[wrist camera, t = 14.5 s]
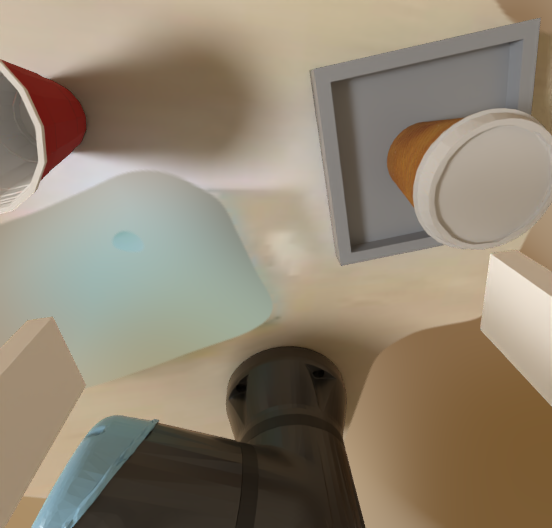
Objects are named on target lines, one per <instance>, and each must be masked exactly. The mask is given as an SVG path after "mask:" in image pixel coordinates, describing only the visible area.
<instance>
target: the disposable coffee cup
mask: <svg viewBox="0 0 552 528" xmlns="http://www.w3.org/2000/svg"><path fill="white" fill-rule="evenodd" d="M387 168H388V172H389V175H390V177H391V178H392V180H393V181H394V182H395V184H396V185H397V186H398V188H399V189H400V190H401V191H402V193H403V194H404V195H405V197H406V198H407V199H408V201H409V202H410V203H411V205H412V206H413V207H414V209H415V213H416V216H417V218H418V221H419V223H420V224H421V226H422V227H423V229H424V230H425V231H426V233H427V234H428V235H430V236H431V237H432V238H434V239H435V240H436V241H437V242H439V243H442V244H444V245H446V246H449V247H454V248H460V249H488V248H493V247H497V246H500V245H504V244H506V243H508V242H510V241H512V240H514V239H516V238H518V237H519V236H521V235H522V234H524V233H525V232H527V231H528V230H529V229H530V228H531V227H532V226H533V225H535V224H536V223H537V221H538V220H539V219H540V218H541V217H542V216H543V215H544V213H545V212H546V210H547V209H548V207H549V206H550V204H551V203H552V136H551V134H550V133H549V132H548V131H547V130H546V129H545V127H544V126H543V125H542V124H541V123H540V122H539V121H538V120H537V119H535V118H534V117H532V116H531V115H529V114H527V113H525V112H522V111H519V110H516V109H507V108H498V109H490V110H484V111H480V112H478V113H475V114H472V115H469V116H467V117H465V118H457V119H447V120H438V121H429V122H419V123H416V124H413V125H411V126H409V127H407V128H406V129H404V130H403V131H402V132H401V133H399V134H398V136H397V137H396V138H395V139H394V141H393V143H392V144H391V146H390V149H389V152H388V156H387Z"/></svg>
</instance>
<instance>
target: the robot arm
mask: <svg viewBox="0 0 552 528" xmlns="http://www.w3.org/2000/svg"><path fill="white" fill-rule="evenodd" d="M480 330H481V331H482V332H483V333H484V334H485V335H486V336H487V337H488V338H489V339H490V341H491V342H492V343H494V345H495V346H496V347H497V348H498V349H499V350H500V351H501V352H502V353H503V354H504V356H505V357H506V358H507V359H508V360H509V361H510V362H511V363H512V364H513V365H514V366H515V367H516V369H517V370H518V371H519V372H520V373H521V374H522V375H523V376H524V377H525V378H526V379H527V380H528V382H530V384H532V386H533V387H534V388H535V389H536V390H537V391H538V392H539V393H540V394H541V395H542V397H543V398H544V399H545V400H546V401H547V402H548V403H549V404H550V405H551V406H552V272H551V271H550V270H548V269H547V268H545V267H543V266H542V265H540V264H539V263H537V262H535V261H534V260H532V259H530V258H529V257H527V256H526V255H524V254H523V253H521V252H519V251H518V250H510V251H503V252H497V253H490V260H489V267H488V275H487V282H486V290H485V298H484V305H483V313H482V320H481V328H480ZM85 386H86V384H85V382H84V380H83V378H82V376H81V374H80V372H79V370H78V368H77V366H76V364H75V362H74V359H73V357H72V355H71V353H70V351H69V349H68V347H67V345H66V343H65V341H64V339H63V337H62V335H61V333H60V331H59V329H58V326H57V324H56V322H55V320H54V318H53V317H47V318H40V319H33V320H28V321H26V323H25V324H24V325H23V326H22V327H21V328H20V329H19V330H18V331H17V332H16V333H15V334H14V335H13V336H12V337H11V338H10V339H9V340H8V341H7V342H6V343H5V344H4V345H3V346H2V347H1V348H0V528H5V526H6V525H7V523H8V521H9V519H10V517H11V516H12V514H13V512H14V511H15V509H16V507H17V505H18V503H19V502H20V500H21V498H22V497H23V495H24V493H25V491H26V490H27V488H28V486H29V484H30V483H31V481H32V479H33V477H34V476H35V474H36V472H37V470H38V469H39V467H40V465H41V463H42V462H43V460H44V458H45V456H46V455H47V453H48V451H49V449H50V448H51V446H52V444H53V442H54V441H55V439H56V437H57V435H58V434H59V432H60V430H61V428H62V427H63V425H64V423H65V421H66V420H67V418H68V416H69V414H70V413H71V411H72V409H73V407H74V406H75V404H76V402H77V400H78V399H79V397H80V395H81V393H82V392H83V390H84V388H85ZM346 404H347V397H346V390H345V387H344V383H343V380H342V377H341V374H340V372H339V370H338V369H337V368H336V366H335V365H334V364H333V363H332V362H331V361H330V360H329V359H327V358H326V357H324V356H323V355H321V354H319V353H317V352H315V351H312V350H308V349H304V348H299V347H278V348H273V349H269V350H265V351H262V352H260V353H257V354H255V355H253V356H252V357H250V358H248V359H247V360H245V361H244V362H243V363H242V364H241V365H240V366H239V367H238V368H237V369H236V370H235V371H234V373H233V374H232V376H231V378H230V380H229V383H228V388H227V397H226V410H227V415H228V418H229V422H230V425H231V428H232V431H233V434H234V437H235V440H231V439H227V438H222V437H218V436H214V435H209V434H205V433H200V432H196V431H192V430H187V429H183V428H179V427H174V426H170V425H166V424H161V423H158V422H159V420H157V419H154V420H152V421H149V420H144V419H138V418H132V417H127V416H121V415H115V416H110V417H107V418H105V419H103V420H101V421H100V422H98V423H97V424H96V425H95V426H94V427H93V428H92V429H91V430H90V431H89V432H88V434H87V435H86V436H85V438H84V439H83V440H82V442H81V443H80V445H79V446H78V448H77V449H76V451H75V452H74V454H73V455H72V457H71V459H70V460H69V462H68V463H67V465H66V467H65V468H64V470H63V472H62V473H61V475H60V477H59V478H58V480H57V482H56V483H55V485H54V487H53V489H52V490H51V492H50V494H49V496H48V497H47V499H46V501H45V503H44V505H43V507H42V508H41V510H40V512H39V514H38V516H37V518H36V520H35V521H34V524H33V525H32V527H31V528H365V524H364V520H363V516H362V513H361V509H360V505H359V501H358V497H357V493H356V489H355V485H354V482H353V477H352V474H351V469H350V466H349V461H348V457H347V454H346V451H345V446H344V442H343V430H344V422H345V413H346Z"/></svg>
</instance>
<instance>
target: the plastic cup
mask: <svg viewBox="0 0 552 528" xmlns="http://www.w3.org/2000/svg"><path fill="white" fill-rule="evenodd" d="M85 131H86V116H85V113H84V111H83V109H82V106H81V104H80V102H79V101H78V100H77V99H76V98H75V96H74V95H73V94H72V93H71V92H70V91H69V90H68V89H66V88H64V87H63V86H61V85H59V84H58V83H56V82H54V81H52V80H49V79H47V78H44V77H42V76H40V75H38V74H37V73H34V72H32V71H29V70H26V69H24V68H21V67H19V66H16V65H13V64H11V63H8V62H6V61H3V60H1V59H0V214H3V213H7V212H11V211H14V210H15V209H16V208H17V207H18V206H20V205H21V204H22V203H23V202H24V201H25V200H26V199H27V198H29V197H30V196H31V195H32V194H33V193H34V192H35V191H36V190H37V189H38V186H39V183H40V181H41V180H42V179H43V177H44V176H46V175H47V174H48V173H49V171H50V170H51V169H53V168H54V167H55V166H56V165H57V164H59V163H60V162H61V161H62V160H63V159H64V158H66V157H67V156H68V155H69V154H70V153H71V152H72V151H73V149H74V148H76V147H77V146H78V145H79V144H80V143H81V141H82V139H83V136H84V134H85Z"/></svg>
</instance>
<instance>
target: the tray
mask: <svg viewBox="0 0 552 528" xmlns="http://www.w3.org/2000/svg"><path fill="white" fill-rule="evenodd" d="M539 29H540V18H537V19H533V20H528V21H524V22H519V23H515V24H511V25H506V26H502V27H497V28H493V29H488V30H484V31H480V32H475V33H471V34H466V35H462V36H458V37H453V38H449V39H444V40H440V41H436V42H431V43H427V44H422V45H418V46H413V47H409V48H405V49H400V50H396V51H391V52H387V53H383V54H378V55H374V56H369V57H365V58H361V59H356V60H352V61H347V62H343V63H339V64H334V65H330V66H325V67H321V68H316V69H312V70H310V77H311V84H312V91H313V98H314V105H315V112H316V119H317V126H318V133H319V140H320V147H321V154H322V161H323V168H324V175H325V182H326V189H327V196H328V203H329V210H330V216H331V223H332V230H333V237H334V244H335V251H336V257H337V259H338V261H339V263H340V265H341V266H343V265H348V264H353V263H358V262H363V261H368V260H373V259H377V258H382V257H387V256H392V255H397V254H402V253H407V252H412V251H417V250H422V249H427V248H432V247H437V246H442V245H444V244H442V243H439V242H437V241H436V240H435V239H434V238H432V237H431V236H430V235H428V234H427V233H426V231H425V230H424V229H423V227H422V226H421V224H420V223H419V221H418V218H417V216H416V213H415V209H414V207H413V206H412V205H411V203H410V202H409V201H408V199H407V198H406V197H405V195H404V194H403V193H402V191H401V190H400V189H399V188H398V186H397V185H396V184H395V182H394V181H393V180H392V178H391V177H390V175H389V172H388V168H387V156H388V152H389V149H390V146H391V144H392V143H393V141H394V139H395V138H396V137H397V136H398V134H399V133H401V132H402V131H403V130H404V129H406V128H407V127H409V126H411V125H413V124H416V123H419V122H429V121H438V120H447V119H457V118H465V117H467V116H469V115H472V114H475V113H478V112H480V111H484V110H490V109H498V108H507V109H516V110H519V111H522V112H525V113H527V114H529V115H531V110H532V100H533V90H534V80H535V70H536V60H537V50H538V39H539Z"/></svg>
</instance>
